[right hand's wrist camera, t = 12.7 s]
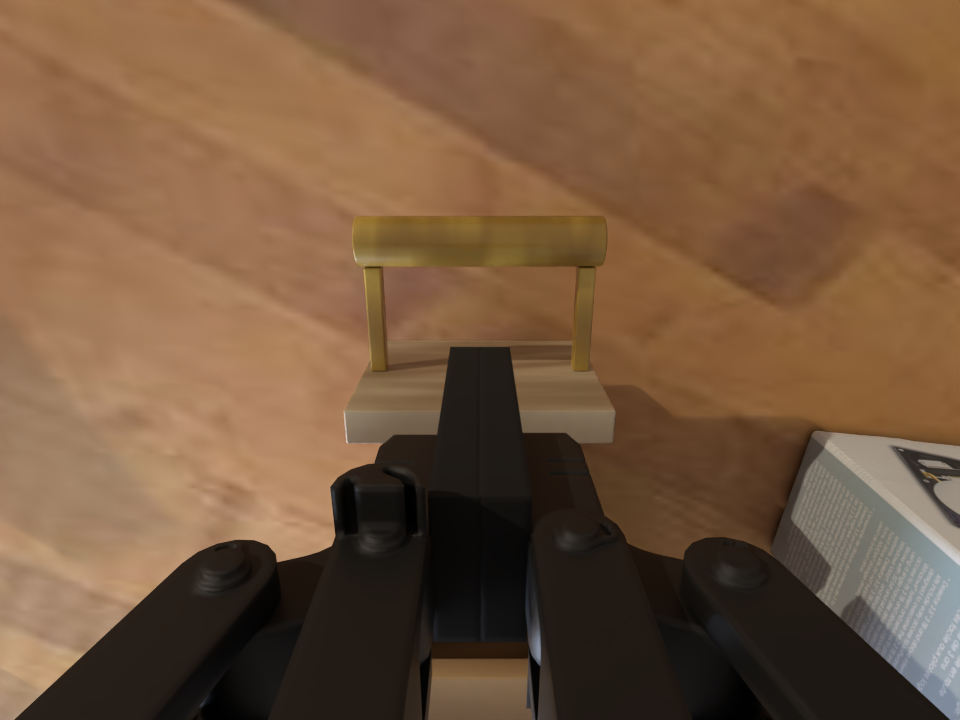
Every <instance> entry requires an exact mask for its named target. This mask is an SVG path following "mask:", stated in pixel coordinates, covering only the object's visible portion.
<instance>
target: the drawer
mask: <svg viewBox="0 0 960 720" xmlns="http://www.w3.org/2000/svg"><path fill="white" fill-rule="evenodd" d="M352 245H353V253H354V258H355V262H356V264H357V266H359V267H365V268H364V279H365V293H366V307H367V321H368V335H369V349H370V362H369V364H368V366H367V368H366V370H365V372H364V374H363V376H362V377H361V379H360V381H359V383H358V385H357V387H356V389H355V391H354V393H353V395H352V397H351V398H350V400H349V402H348V404H347V406H346V408H345V410H344V420H345V431H346V441H347V443H385V442H386V441H387V440H388V439H390V438H391V437H392V436H393V435H437V432H438V425H439V418H440V412H441V405H442V398H443V392H444V385H445V378H446V372H447V365H448V359H449V352H450V347H510V352H511V359H512V365H513V372H514V378H515V385H516V392H517V398H518V405H519V412H520V418H521V425H522V432H523V433H567V434H568V435H569V436H570V437H572V438H573V439H574V440H575V441H576V442H577V443H613V438H614V427H615V416H616V411H615V409H614V407H613V405H612V403H611V401H610V399H609V397H608V395H607V393H606V391H605V389H604V388H603V386H602V384H601V382H600V380H599V378H598V376H597V374H596V372H595V370H594V368H593V366H592V365H591V363H590V361H589V358H590V344H591V330H592V316H593V302H594V287H595V273H596V268H595V267H600V266H602V265H603V263H604V260H605V256H606V250H607V225H606V220H605V218H604V217H603V216H357V217H355V219H354V222H353V229H352ZM383 267H577V270H576V287H575V304H574V321H573V338H572V340H387V328H386V312H385V295H384V279H383ZM431 652H432V659H528V652H529V642H528V632H527V642H433V634H432V645H431Z"/></svg>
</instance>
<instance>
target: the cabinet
mask: <svg viewBox="0 0 960 720" xmlns="http://www.w3.org/2000/svg"><path fill="white" fill-rule="evenodd" d="M527 677H528V659H432V681H431V692H430V704H429V715H428V720H532V714H531V708H526V703H527Z"/></svg>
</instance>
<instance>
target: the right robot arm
mask: <svg viewBox="0 0 960 720" xmlns="http://www.w3.org/2000/svg"><path fill="white" fill-rule="evenodd" d="M330 488H331V497H332V507H333V516H334V525H335V535H336V537H335V539H334V542H333V545H332V546H331V547H329V548H327V549H325V550H322V551H320V552H318V553H314V554H311V555H308V556H304V557H300V558H295V559H291V560H286V561H281V562H277V560H276V554H275V553H274V552H273V551H272V550H271V548H270V547H269V546H268V545H266V544H263V543H260V542H257V541H255V540H233V541H229V542H224V543H219V544H216V545H213V546H211V547H209V548H206V549H204V550H202V551H199V552H197V553H196V554H195V555H193V556H192V557H190V558H189V559H188V560H186V561H185V562H183V563H182V564H181V565H180V566H179V567H178V568H177V569H176V570H174V571H173V572H172V573H171V574H170V575H169V576H168V577H167V578H166V579H165V580H164V581H163V582H162V583H161V584H159V585H158V586H157V587H156V588H155V589H154V590H153V591H152V592H151V593H150V594H149V595H148V596H147V597H146V598H144V599H143V600H142V601H141V602H140V603H139V604H138V605H137V606H136V607H135V608H134V609H133V610H132V611H131V612H129V613H128V614H127V615H126V616H125V617H124V618H123V619H122V620H121V621H120V622H119V623H118V624H117V625H115V626H114V627H113V628H112V629H111V630H110V631H109V632H108V633H107V634H106V635H105V636H104V637H103V638H102V639H100V640H99V641H98V642H97V643H96V644H95V645H94V646H93V647H92V648H91V649H90V650H89V651H88V652H87V653H85V654H84V655H83V656H82V657H81V658H80V659H79V660H78V661H77V662H76V663H75V664H74V665H73V666H72V667H70V668H69V669H68V670H67V671H66V672H65V673H64V674H63V675H62V676H61V677H60V678H59V679H58V680H57V681H55V682H54V683H53V684H52V685H51V686H50V687H49V688H48V689H47V690H46V691H45V692H44V693H43V694H41V695H40V696H39V697H38V698H37V699H36V700H35V701H34V702H33V703H32V704H31V705H30V706H29V707H28V708H26V709H25V710H24V711H23V712H22V713H21V714H20V715H19V716H18V717H17V718H16V719H15V720H428V715H429V704H430V692H431V681H432V652H431V645H432V634H433V642H527V632H528V642H529V652H528V677H527V703H526V708H531V714H532V720H950V719H949V718H948V717H947V716H946V715H945V714H944V713H942V712H941V711H940V710H939V709H938V708H937V707H936V706H935V705H934V704H933V703H932V702H931V701H930V700H928V699H927V698H926V697H925V696H924V695H923V694H922V693H921V692H920V691H919V690H918V689H917V688H915V687H914V686H913V685H912V684H911V683H910V682H909V681H908V680H907V679H906V678H905V677H904V676H903V675H901V674H900V673H899V672H898V671H897V670H896V669H895V668H894V667H893V666H892V665H891V664H890V663H888V662H887V661H886V660H885V659H884V658H883V657H882V656H881V655H880V654H879V653H878V652H877V651H875V650H874V649H873V648H872V647H871V646H870V645H869V644H868V643H867V642H866V641H865V640H864V639H863V638H861V637H860V636H859V635H858V634H857V633H856V632H855V631H854V630H853V629H852V628H851V627H850V626H848V625H847V624H846V623H845V622H844V621H843V620H842V619H841V618H840V617H839V616H838V615H837V614H835V613H834V612H833V611H832V610H831V609H830V608H829V607H828V606H827V605H826V604H825V603H824V602H823V601H821V600H820V599H819V598H818V597H817V596H816V595H815V594H814V593H813V592H812V591H811V590H810V589H808V588H807V587H806V586H805V585H804V584H803V583H802V582H801V581H800V580H799V579H798V578H797V577H796V576H794V575H793V574H792V573H791V572H790V571H789V570H788V569H787V568H786V567H785V566H784V565H783V564H781V563H780V562H779V561H778V560H777V559H775V558H774V557H772V556H771V555H770V554H768V553H767V552H765V551H764V550H763V549H760V548H758V547H756V546H753V545H751V544H749V543H746V542H744V541H739V540H735V539H730V538H725V537H718V538H704V539H702V540H699V541H696V542H693V543H692V544H691V545H690V546H689V547H688V549H687V550H686V551H685V554H684V560H681V559H676V558H672V557H667V556H662V555H658V554H654V553H651V552H647V551H644V550H641V549H639V548H636V547H634V546H632V545H630V544H628V543H627V541H626V538H625V536H624V534H623V533H622V531H621V530H620V528H619V527H618V525H617V524H615V523H614V522H613V521H611V520H610V519H608V518H607V517H605V516H604V513H603V510H602V507H601V504H600V501H599V499H598V496H597V493H596V490H595V487H594V484H593V481H592V478H591V475H589V469H588V466H587V463H585V457H584V454H583V451H582V448H581V446H580V444H578V443H577V442H576V441H575V440H574V439H573V438H572V437H570V436H569V435H568V434H567V433H523V432H522V425H521V418H520V412H519V405H518V398H517V392H516V385H515V378H514V372H513V365H512V359H511V352H510V347H450V352H449V359H448V365H447V372H446V378H445V385H444V392H443V398H442V405H441V412H440V418H439V425H438V432H437V435H393V436H392V437H391V438H390V439H388V440H387V441H386V442H385V443H384V444H383V445H382V446H380V448H379V451H378V454H377V457H376V460H375V464H367V465H364V466H361V467H357V468H354V469H351V470H349V471H348V472H346V473H344V474H343V475H341V476H340V477H338V478H337V479H336V481H335V482H334V483H333V484H332V486H331V487H330Z"/></svg>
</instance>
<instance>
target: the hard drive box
mask: <svg viewBox="0 0 960 720" xmlns="http://www.w3.org/2000/svg"><path fill="white" fill-rule="evenodd" d="M771 553H772V555H773V556H774V557H775V559H777V560H778V561H779V562H780V563H781V564H783V565H784V566H785V567H786V568H787V569H788V570H789V571H790V572H791V573H792V574H793V575H794V576H796V577H797V578H798V579H799V580H800V581H801V582H802V583H803V584H804V585H805V586H806V587H807V588H808V589H810V590H811V591H812V592H813V593H814V594H815V595H816V596H817V597H818V598H819V599H820V600H821V601H823V602H824V603H825V604H826V605H827V606H828V607H829V608H830V609H831V610H832V611H833V612H834V613H835V614H837V615H838V616H839V617H840V618H841V619H842V620H843V621H844V622H845V623H846V624H847V625H848V626H850V627H851V628H852V629H853V630H854V631H855V632H856V633H857V634H858V635H859V636H860V637H861V638H863V639H864V640H865V641H866V642H867V643H868V644H869V645H870V646H871V647H872V648H873V649H874V650H875V651H877V652H878V653H879V654H880V655H881V656H882V657H883V658H884V659H885V660H886V661H887V662H888V663H890V664H891V665H892V666H893V667H894V668H895V669H896V670H897V671H898V672H899V673H900V674H901V675H903V676H904V677H905V678H906V679H907V680H908V681H909V682H910V683H911V684H912V685H913V686H914V687H915V688H917V689H918V690H919V691H920V692H921V693H922V694H923V695H924V696H925V697H926V698H927V699H928V700H930V701H931V702H932V703H933V704H934V705H935V706H936V707H937V708H938V709H939V710H940V711H941V712H942V713H944V714H945V715H946V716H947V717H948V718H949V719H950V720H960V446H954V445H945V444H936V443H927V442H918V441H910V440H906V439H901V438H888V437H880V436H867V435H855V434H845V433H833V432H826V431H814V432H813V433H812V436H811V438H810V441H809V443H808V446H807V449H806V452H805V454H804V457H803V460H802V463H801V466H800V468H799V471H798V474H797V477H796V479H795V482H794V485H793V487H792V490H791V493H790V496H789V499H788V501H787V504H786V507H785V510H784V512H783V515H782V518H781V521H780V524H779V527H778V530H777V533H776V536H775V538H774V541H773V544H772V547H771Z"/></svg>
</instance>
